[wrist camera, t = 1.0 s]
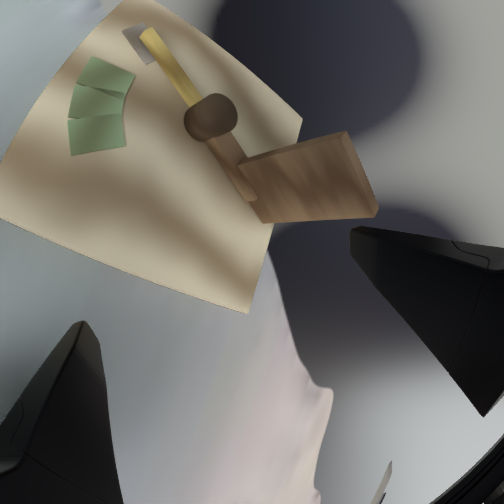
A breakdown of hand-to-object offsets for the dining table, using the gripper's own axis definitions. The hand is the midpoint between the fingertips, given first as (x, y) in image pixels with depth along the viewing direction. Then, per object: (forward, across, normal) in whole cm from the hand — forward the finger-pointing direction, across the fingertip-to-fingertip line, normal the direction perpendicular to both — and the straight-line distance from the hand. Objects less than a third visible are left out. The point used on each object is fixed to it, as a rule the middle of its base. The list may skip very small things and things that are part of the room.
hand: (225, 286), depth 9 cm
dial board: (+15, -1, -3) cm, 16 cm away
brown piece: (+16, -3, -4) cm, 16 cm away
